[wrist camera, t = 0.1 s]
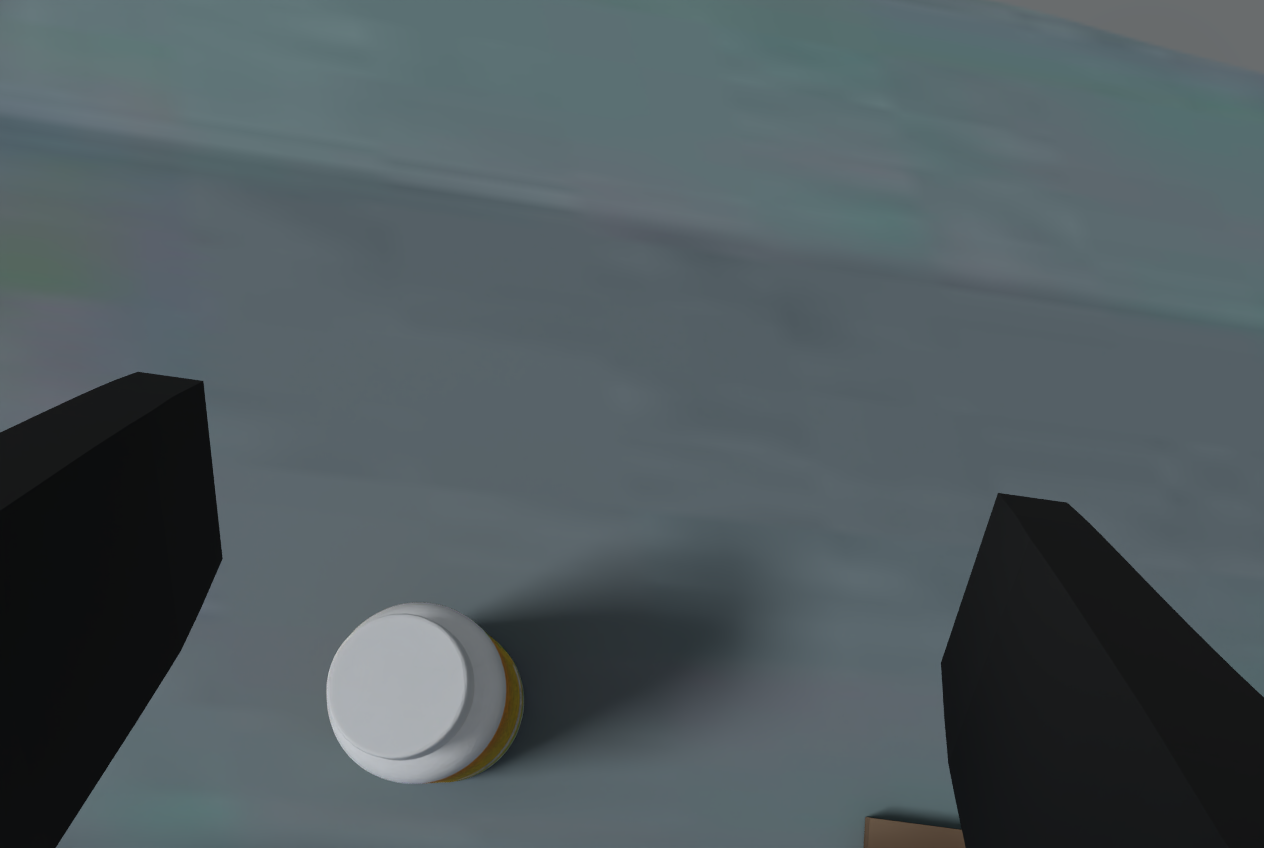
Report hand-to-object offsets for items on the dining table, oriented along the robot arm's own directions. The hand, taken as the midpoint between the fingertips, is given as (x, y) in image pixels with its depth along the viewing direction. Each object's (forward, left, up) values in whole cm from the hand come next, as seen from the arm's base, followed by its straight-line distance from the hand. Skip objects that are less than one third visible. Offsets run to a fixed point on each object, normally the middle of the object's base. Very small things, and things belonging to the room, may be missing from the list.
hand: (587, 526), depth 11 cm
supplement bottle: (-1, +6, -32) cm, 33 cm away
